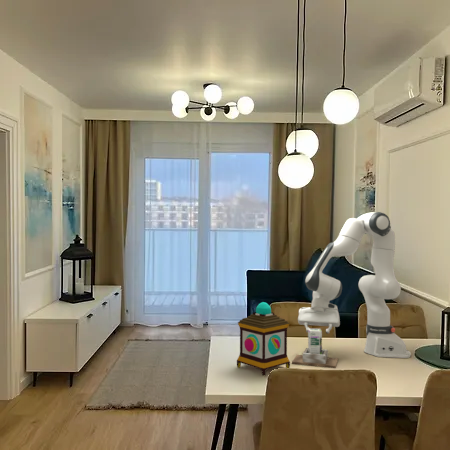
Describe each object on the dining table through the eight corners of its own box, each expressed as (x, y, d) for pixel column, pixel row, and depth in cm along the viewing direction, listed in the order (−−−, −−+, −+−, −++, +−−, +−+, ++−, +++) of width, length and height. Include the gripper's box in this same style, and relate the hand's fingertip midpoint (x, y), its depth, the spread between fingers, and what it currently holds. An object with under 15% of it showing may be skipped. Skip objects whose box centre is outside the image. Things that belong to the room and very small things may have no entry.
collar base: (338, 360, 230) (338, 350, 230) (335, 368, 218) (335, 357, 218) (296, 356, 236) (296, 346, 236) (291, 363, 224) (291, 353, 224)
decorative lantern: (262, 359, 231) (263, 297, 231) (294, 369, 216) (294, 302, 216) (232, 367, 218) (232, 301, 218) (263, 378, 203) (264, 307, 203)
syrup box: (309, 361, 225) (309, 330, 225) (308, 358, 230) (308, 327, 230) (321, 361, 224) (322, 330, 224) (320, 358, 230) (320, 328, 230)
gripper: (298, 303, 241) (295, 327, 232) (340, 305, 235) (338, 329, 226) (300, 310, 246) (296, 334, 236) (340, 313, 239) (339, 337, 230)
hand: (317, 332), depth 231 cm, fingers open, 8 cm apart
